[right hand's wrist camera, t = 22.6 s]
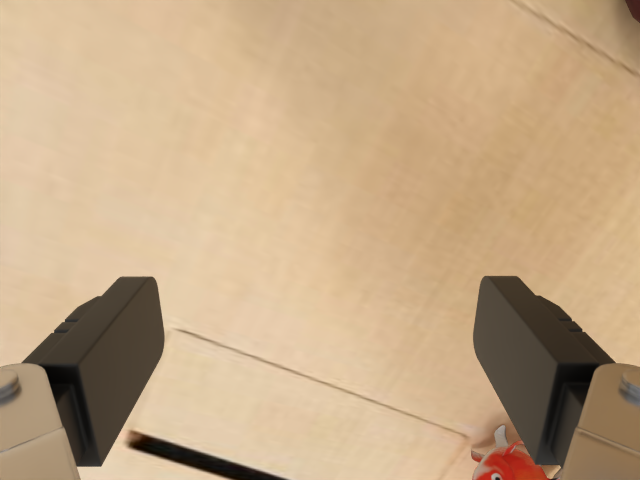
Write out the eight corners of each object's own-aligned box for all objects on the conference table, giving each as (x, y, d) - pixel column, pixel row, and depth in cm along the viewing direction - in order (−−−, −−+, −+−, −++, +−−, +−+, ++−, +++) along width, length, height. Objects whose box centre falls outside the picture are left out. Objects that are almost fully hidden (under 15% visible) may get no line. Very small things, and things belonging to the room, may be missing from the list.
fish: (525, 396, 39) (590, 531, 33) (607, 403, 47) (671, 511, 41) (436, 439, 45) (476, 560, 39) (523, 438, 53) (567, 537, 47)
